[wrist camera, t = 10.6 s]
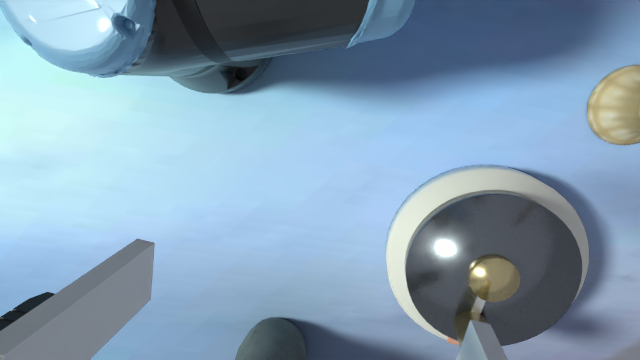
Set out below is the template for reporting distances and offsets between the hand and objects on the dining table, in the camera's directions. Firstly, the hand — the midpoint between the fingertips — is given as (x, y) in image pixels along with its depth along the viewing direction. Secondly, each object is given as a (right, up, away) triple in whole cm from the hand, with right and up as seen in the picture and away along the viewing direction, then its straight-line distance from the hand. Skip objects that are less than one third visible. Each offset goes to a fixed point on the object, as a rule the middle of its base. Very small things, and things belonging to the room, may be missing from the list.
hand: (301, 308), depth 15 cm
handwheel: (+20, -5, +27) cm, 34 cm away
